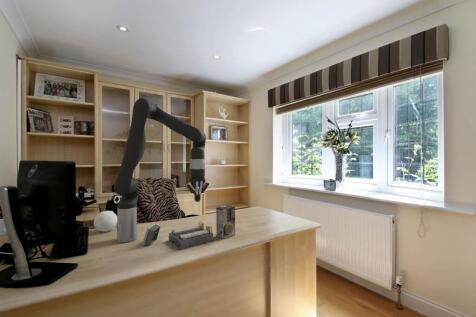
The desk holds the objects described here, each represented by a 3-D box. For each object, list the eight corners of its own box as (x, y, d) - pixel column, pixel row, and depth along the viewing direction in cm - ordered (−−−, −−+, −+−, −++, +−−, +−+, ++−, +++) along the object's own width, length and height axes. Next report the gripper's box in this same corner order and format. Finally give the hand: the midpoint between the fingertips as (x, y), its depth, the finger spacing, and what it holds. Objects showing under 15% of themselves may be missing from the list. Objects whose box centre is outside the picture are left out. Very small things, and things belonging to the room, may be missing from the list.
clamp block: (180, 249, 109) (180, 235, 109) (168, 240, 121) (168, 227, 121) (213, 241, 120) (213, 227, 120) (199, 233, 132) (199, 221, 132)
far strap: (174, 234, 118) (174, 232, 118) (172, 233, 120) (172, 230, 120) (200, 229, 127) (200, 227, 127) (198, 227, 129) (198, 225, 129)
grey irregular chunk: (150, 239, 123) (151, 222, 123) (159, 240, 123) (161, 223, 122) (141, 246, 114) (143, 227, 113) (152, 247, 113) (153, 228, 113)
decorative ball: (121, 230, 138) (121, 210, 138) (99, 236, 128) (99, 214, 128) (111, 226, 145) (111, 207, 145) (90, 231, 135) (90, 211, 135)
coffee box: (228, 232, 134) (227, 204, 134) (235, 235, 129) (235, 206, 129) (215, 236, 127) (215, 207, 127) (223, 239, 123) (223, 209, 123)
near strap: (182, 239, 111) (182, 237, 111) (179, 237, 113) (179, 235, 113) (208, 233, 120) (208, 231, 120) (205, 231, 122) (205, 229, 122)
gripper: (188, 168, 111) (188, 204, 111) (212, 167, 119) (212, 201, 119) (182, 168, 117) (182, 202, 117) (205, 167, 125) (205, 199, 125)
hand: (197, 201), depth 118 cm, fingers closed
